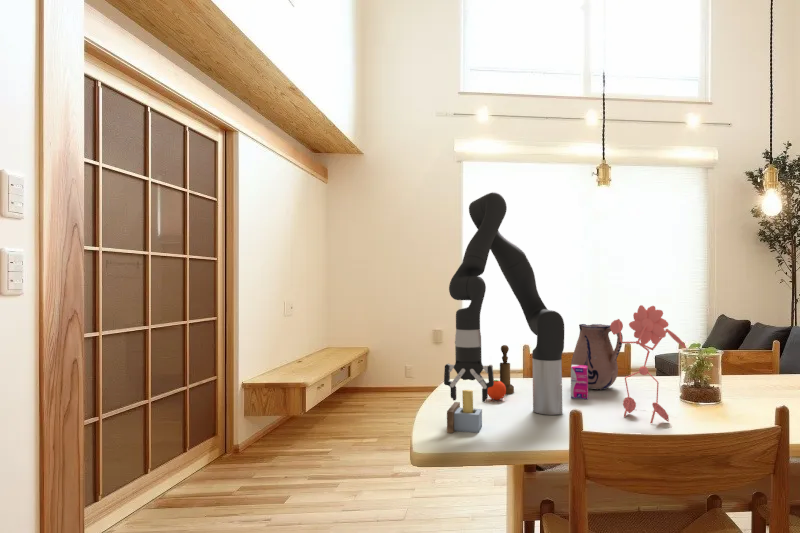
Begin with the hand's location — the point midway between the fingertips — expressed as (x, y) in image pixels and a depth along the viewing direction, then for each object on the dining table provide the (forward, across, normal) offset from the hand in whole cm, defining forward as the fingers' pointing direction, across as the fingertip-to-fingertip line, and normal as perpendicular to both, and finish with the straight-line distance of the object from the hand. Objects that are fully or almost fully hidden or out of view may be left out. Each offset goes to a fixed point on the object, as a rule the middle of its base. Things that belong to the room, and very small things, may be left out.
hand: (469, 400), depth 153 cm
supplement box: (+9, -33, -51) cm, 61 cm away
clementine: (+8, -4, -40) cm, 41 cm away
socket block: (+8, 0, 0) cm, 8 cm away
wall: (+8, +5, 0) cm, 9 cm away
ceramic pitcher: (+9, -41, -70) cm, 81 cm away
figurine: (+9, -53, -27) cm, 60 cm away
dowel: (+7, 0, 0) cm, 7 cm away
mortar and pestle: (+8, -6, -53) cm, 54 cm away
